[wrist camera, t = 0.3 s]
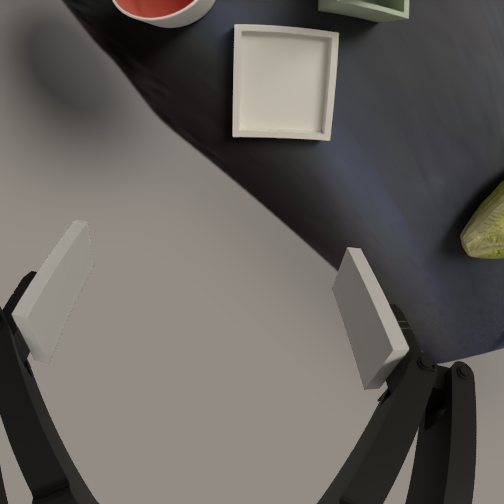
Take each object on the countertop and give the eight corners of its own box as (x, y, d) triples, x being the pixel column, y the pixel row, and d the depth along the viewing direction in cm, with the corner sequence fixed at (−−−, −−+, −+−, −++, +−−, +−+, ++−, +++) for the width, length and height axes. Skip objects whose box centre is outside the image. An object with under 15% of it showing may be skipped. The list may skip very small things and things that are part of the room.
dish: (234, 26, 31) (234, 24, 29) (333, 33, 31) (339, 32, 29) (232, 132, 39) (232, 136, 37) (325, 136, 39) (329, 140, 37)
